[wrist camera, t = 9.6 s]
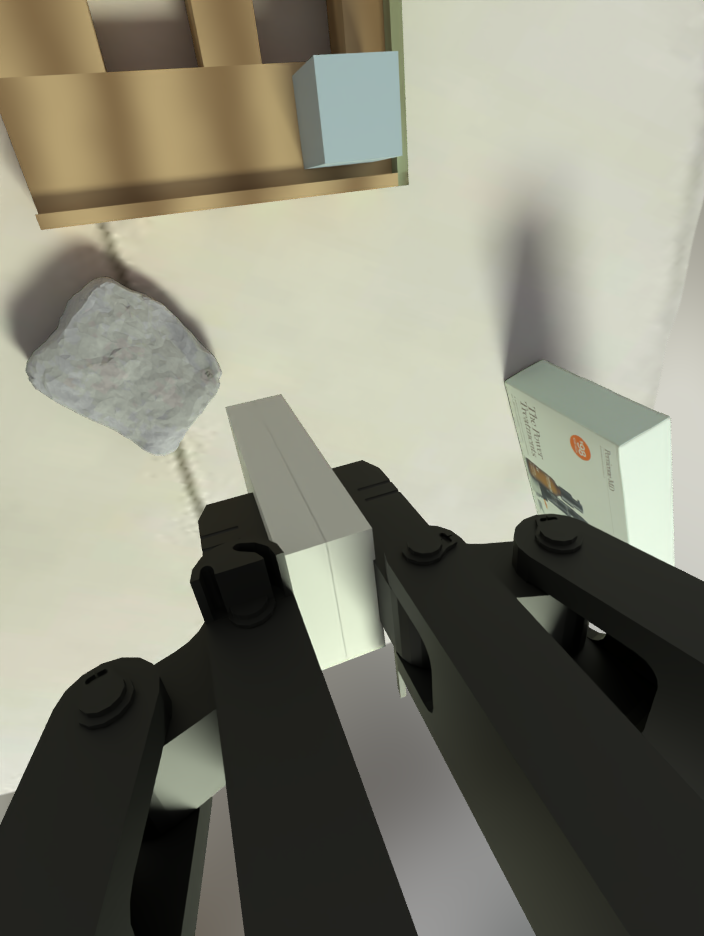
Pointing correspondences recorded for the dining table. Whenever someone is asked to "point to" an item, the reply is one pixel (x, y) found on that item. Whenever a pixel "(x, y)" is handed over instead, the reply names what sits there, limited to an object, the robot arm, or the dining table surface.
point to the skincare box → (595, 456)
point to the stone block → (126, 366)
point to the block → (348, 108)
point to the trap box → (172, 114)
